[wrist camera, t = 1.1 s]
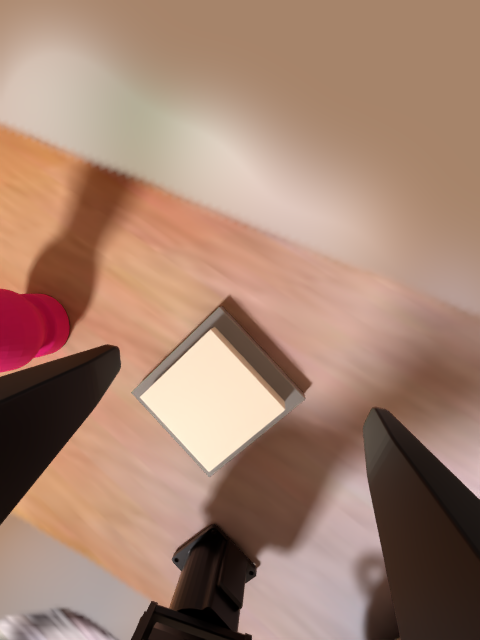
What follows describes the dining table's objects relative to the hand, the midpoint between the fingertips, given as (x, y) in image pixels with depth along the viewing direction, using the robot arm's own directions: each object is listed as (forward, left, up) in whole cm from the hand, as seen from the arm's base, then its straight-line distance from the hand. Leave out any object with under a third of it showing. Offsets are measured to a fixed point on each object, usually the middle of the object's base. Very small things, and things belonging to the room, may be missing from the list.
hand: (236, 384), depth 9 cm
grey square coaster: (-7, -2, -15) cm, 17 cm away
